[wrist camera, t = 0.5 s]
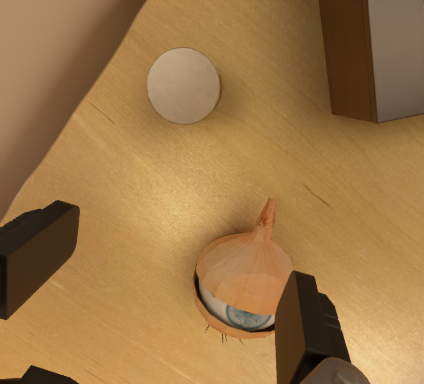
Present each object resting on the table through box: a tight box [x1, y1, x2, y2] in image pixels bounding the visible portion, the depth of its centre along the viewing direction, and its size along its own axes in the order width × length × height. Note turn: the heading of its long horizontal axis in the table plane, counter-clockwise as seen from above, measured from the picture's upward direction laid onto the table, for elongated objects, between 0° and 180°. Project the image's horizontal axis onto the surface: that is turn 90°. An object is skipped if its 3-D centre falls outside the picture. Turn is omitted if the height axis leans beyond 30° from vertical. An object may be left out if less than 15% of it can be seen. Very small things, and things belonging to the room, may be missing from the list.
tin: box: [147, 47, 222, 125], centre depth 26 cm, size 5×5×8 cm
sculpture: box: [193, 198, 295, 344], centre depth 29 cm, size 9×9×15 cm
